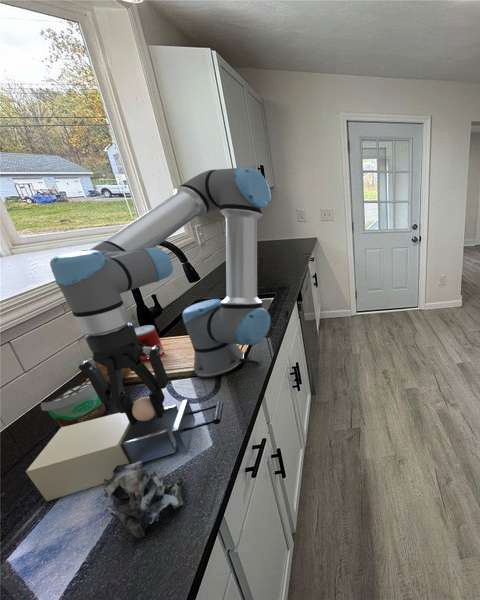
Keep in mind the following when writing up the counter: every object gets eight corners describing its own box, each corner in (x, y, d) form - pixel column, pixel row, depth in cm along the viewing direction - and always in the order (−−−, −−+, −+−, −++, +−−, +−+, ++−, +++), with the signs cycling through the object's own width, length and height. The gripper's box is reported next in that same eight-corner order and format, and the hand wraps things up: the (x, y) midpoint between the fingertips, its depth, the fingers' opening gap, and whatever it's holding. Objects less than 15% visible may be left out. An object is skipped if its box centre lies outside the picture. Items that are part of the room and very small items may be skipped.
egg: (149, 426, 70) (140, 406, 68) (131, 425, 71) (122, 405, 69) (165, 412, 74) (157, 392, 72) (148, 411, 75) (140, 392, 73)
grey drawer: (228, 410, 85) (221, 390, 83) (224, 440, 76) (216, 418, 73) (134, 437, 78) (123, 416, 76) (116, 474, 68) (103, 451, 66)
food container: (74, 437, 81) (56, 406, 77) (56, 434, 82) (37, 404, 78) (122, 404, 92) (108, 376, 88) (106, 402, 93) (91, 374, 89)
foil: (87, 557, 51) (91, 464, 58) (122, 554, 59) (122, 473, 67) (171, 519, 55) (164, 437, 63) (192, 521, 64) (185, 448, 71)
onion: (97, 381, 104) (84, 355, 100) (134, 367, 110) (123, 342, 107) (102, 392, 98) (88, 365, 94) (141, 377, 104) (129, 351, 101)
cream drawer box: (149, 434, 80) (137, 407, 77) (132, 474, 69) (117, 445, 66) (77, 455, 75) (60, 427, 72) (46, 501, 64) (25, 471, 61)
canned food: (162, 348, 122) (152, 323, 118) (166, 355, 117) (156, 329, 113) (138, 356, 117) (126, 330, 113) (141, 364, 112) (129, 337, 108)
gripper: (163, 312, 70) (194, 396, 79) (62, 330, 64) (109, 419, 73) (153, 325, 63) (189, 416, 72) (40, 346, 58) (94, 442, 66)
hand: (148, 417), depth 72 cm, fingers closed on egg, 4 cm apart
